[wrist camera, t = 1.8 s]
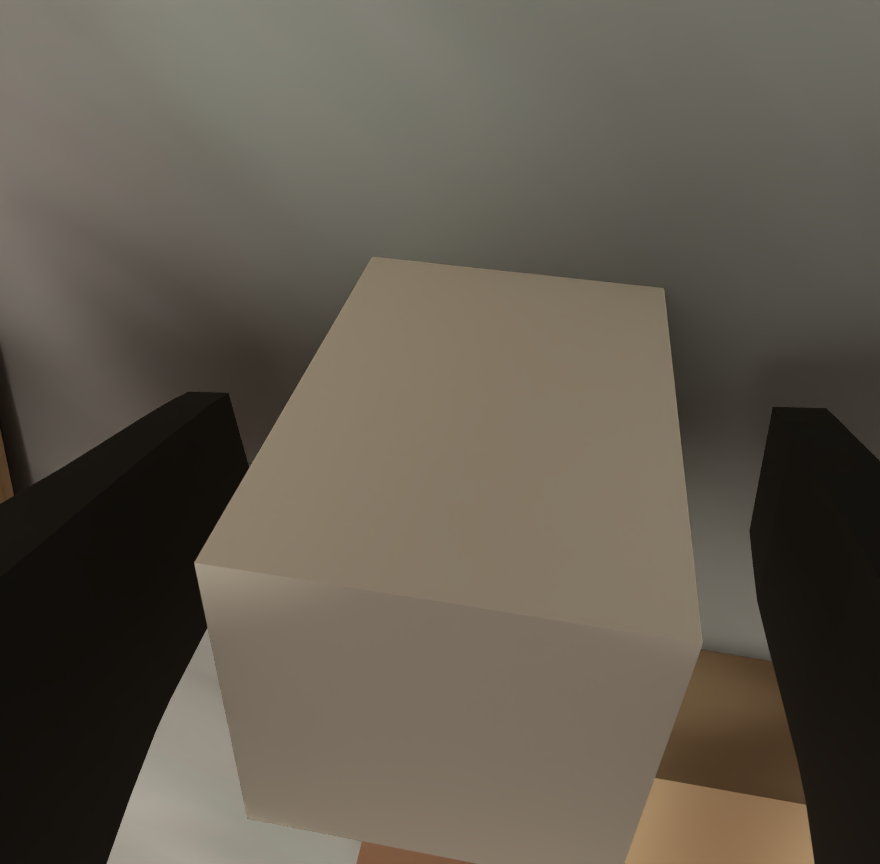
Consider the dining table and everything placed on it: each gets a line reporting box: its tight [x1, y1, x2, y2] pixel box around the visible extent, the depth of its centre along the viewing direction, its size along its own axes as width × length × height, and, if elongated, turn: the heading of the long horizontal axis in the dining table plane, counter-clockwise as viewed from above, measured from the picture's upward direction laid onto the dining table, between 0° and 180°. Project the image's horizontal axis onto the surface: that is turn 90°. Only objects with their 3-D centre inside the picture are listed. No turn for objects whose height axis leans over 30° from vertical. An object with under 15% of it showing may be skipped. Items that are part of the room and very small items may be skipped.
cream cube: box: [194, 257, 703, 864], centre depth 10 cm, size 4×4×6 cm
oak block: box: [624, 650, 815, 864], centre depth 15 cm, size 6×6×3 cm
